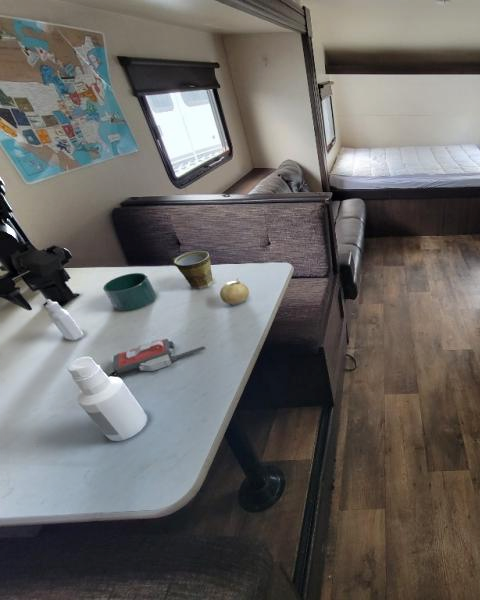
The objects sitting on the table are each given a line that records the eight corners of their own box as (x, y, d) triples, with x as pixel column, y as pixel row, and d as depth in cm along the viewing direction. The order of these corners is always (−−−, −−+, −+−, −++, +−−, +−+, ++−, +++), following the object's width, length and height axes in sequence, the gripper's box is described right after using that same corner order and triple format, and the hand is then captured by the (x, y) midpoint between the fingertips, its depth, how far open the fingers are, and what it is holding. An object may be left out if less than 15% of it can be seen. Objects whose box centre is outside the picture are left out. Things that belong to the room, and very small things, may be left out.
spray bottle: (120, 413, 71) (72, 351, 61) (154, 411, 71) (112, 348, 61) (99, 443, 65) (42, 379, 55) (136, 440, 66) (86, 376, 55)
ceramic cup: (224, 277, 117) (215, 251, 111) (206, 293, 109) (195, 266, 103) (191, 274, 119) (180, 249, 113) (170, 290, 111) (158, 263, 105)
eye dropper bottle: (63, 344, 89) (34, 308, 82) (65, 333, 93) (38, 297, 86) (83, 338, 91) (57, 302, 84) (85, 327, 95) (60, 292, 88)
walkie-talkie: (112, 387, 77) (207, 354, 86) (102, 373, 74) (201, 341, 83) (114, 363, 83) (203, 335, 92) (105, 350, 81) (197, 322, 89)
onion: (234, 311, 101) (227, 291, 97) (218, 303, 104) (210, 283, 100) (256, 298, 106) (250, 278, 102) (240, 291, 110) (233, 272, 106)
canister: (106, 310, 101) (93, 291, 98) (132, 291, 111) (122, 272, 107) (140, 312, 101) (129, 292, 97) (164, 292, 110) (155, 273, 106)
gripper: (-6, 263, 68) (42, 323, 77) (74, 227, 83) (106, 280, 92) (-56, 261, 69) (-3, 321, 78) (32, 226, 84) (68, 279, 93)
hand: (47, 299), depth 85 cm, fingers open, 9 cm apart
